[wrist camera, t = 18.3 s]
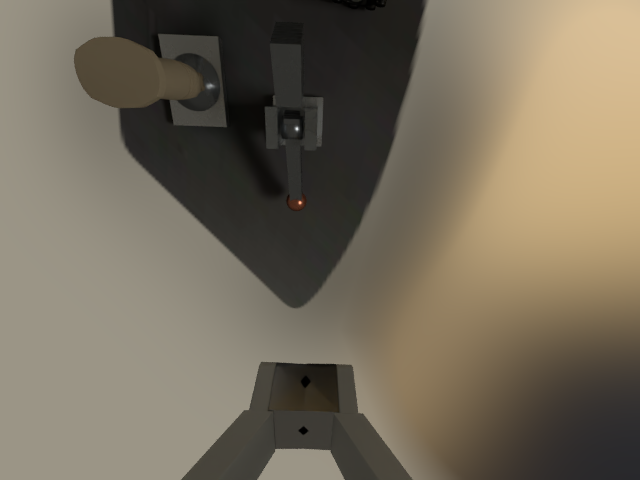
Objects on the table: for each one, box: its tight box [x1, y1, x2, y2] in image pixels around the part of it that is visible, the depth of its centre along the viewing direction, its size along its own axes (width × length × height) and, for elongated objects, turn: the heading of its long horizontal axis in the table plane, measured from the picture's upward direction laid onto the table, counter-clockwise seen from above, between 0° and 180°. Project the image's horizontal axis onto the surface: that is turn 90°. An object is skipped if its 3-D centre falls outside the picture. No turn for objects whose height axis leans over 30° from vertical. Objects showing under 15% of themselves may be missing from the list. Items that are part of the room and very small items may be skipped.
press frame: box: [158, 34, 323, 150], centre depth 33 cm, size 12×20×11 cm, turn 88°
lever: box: [270, 22, 307, 211], centre depth 33 cm, size 22×3×4 cm, turn 179°
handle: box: [74, 37, 205, 108], centre depth 29 cm, size 5×6×15 cm
